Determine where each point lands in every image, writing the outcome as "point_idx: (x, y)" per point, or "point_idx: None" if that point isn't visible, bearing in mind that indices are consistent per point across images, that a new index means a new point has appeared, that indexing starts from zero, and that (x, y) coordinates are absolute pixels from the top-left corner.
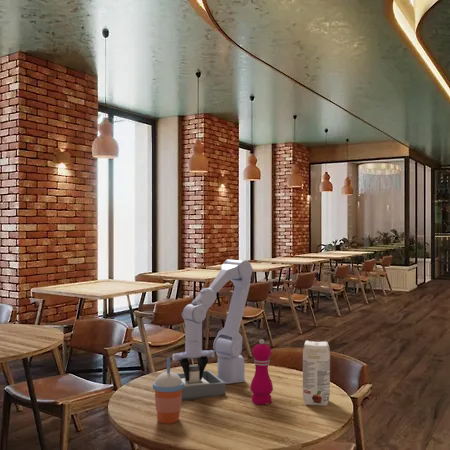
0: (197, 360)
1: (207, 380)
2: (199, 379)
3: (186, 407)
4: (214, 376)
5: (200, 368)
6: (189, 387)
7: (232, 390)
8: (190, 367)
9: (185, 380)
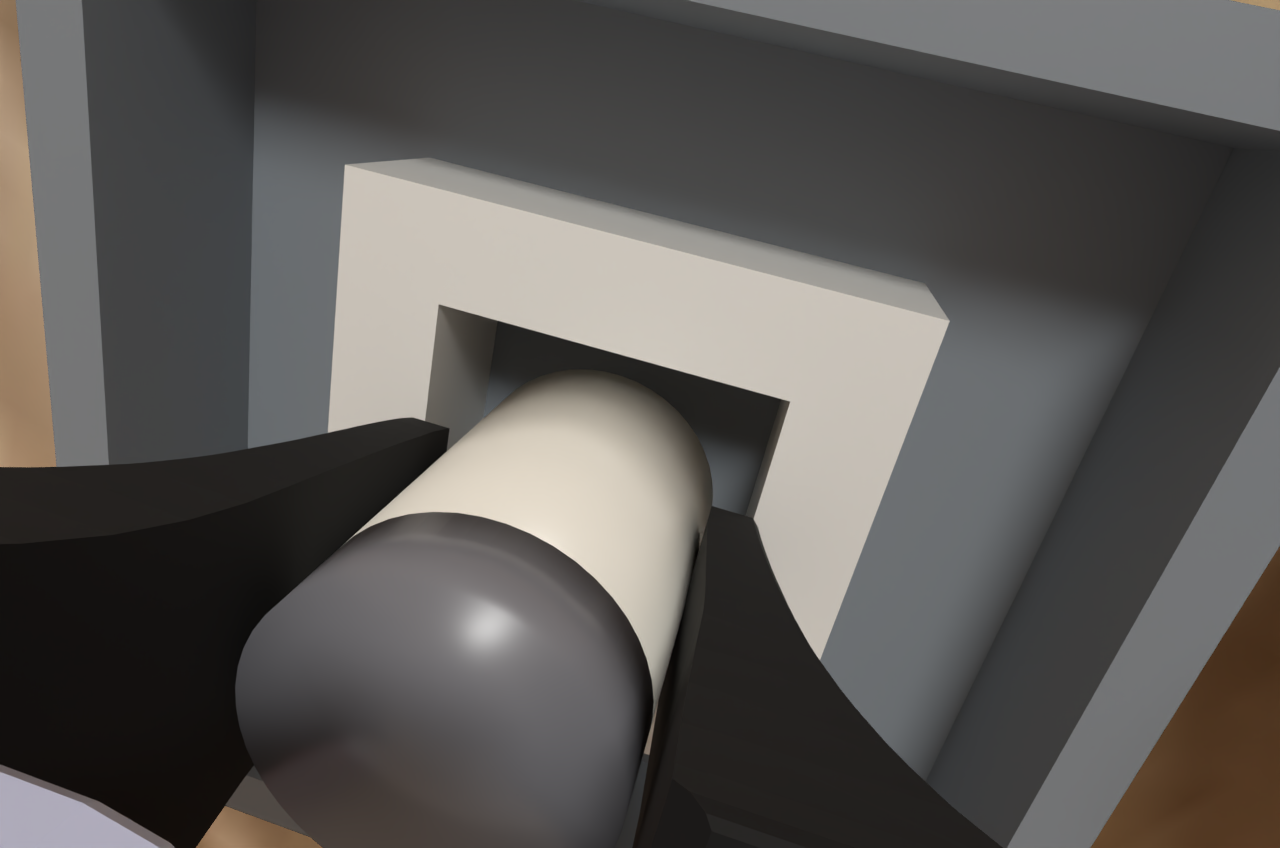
0: (674, 739)
1: (1224, 174)
2: (764, 482)
3: (270, 833)
4: (1097, 705)
5: (640, 829)
6: (290, 824)
7: (1185, 821)
8: (285, 773)
9: (482, 308)
